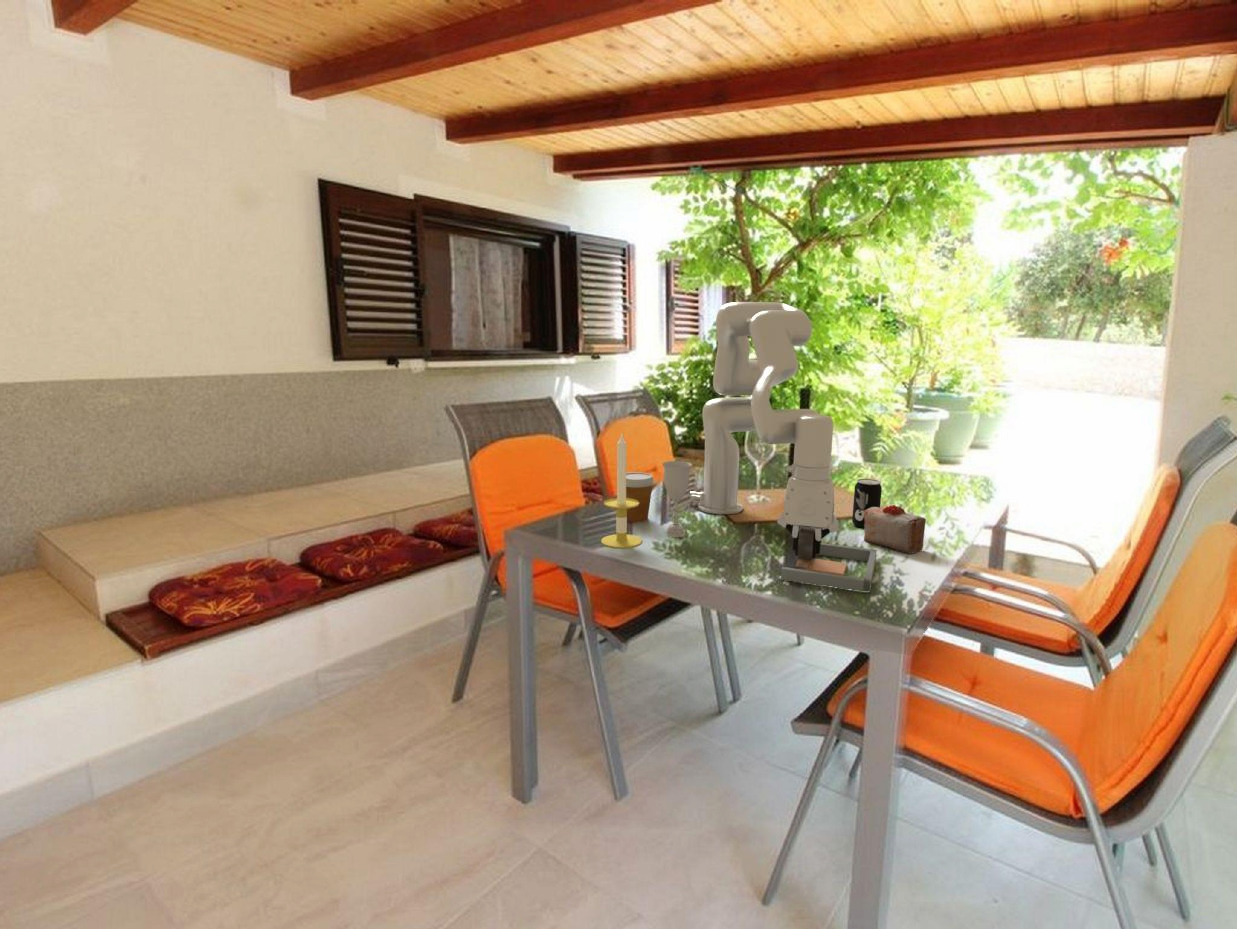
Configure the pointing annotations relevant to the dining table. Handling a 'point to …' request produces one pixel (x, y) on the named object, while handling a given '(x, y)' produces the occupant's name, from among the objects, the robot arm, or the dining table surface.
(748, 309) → the robot arm
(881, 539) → the food item
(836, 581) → the frame
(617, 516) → the candle
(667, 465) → the chalice
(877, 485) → the beverage can
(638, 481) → the disposable coffee cup
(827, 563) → the tile
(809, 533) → the scraper
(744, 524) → the dining table surface
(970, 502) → the dining table surface
